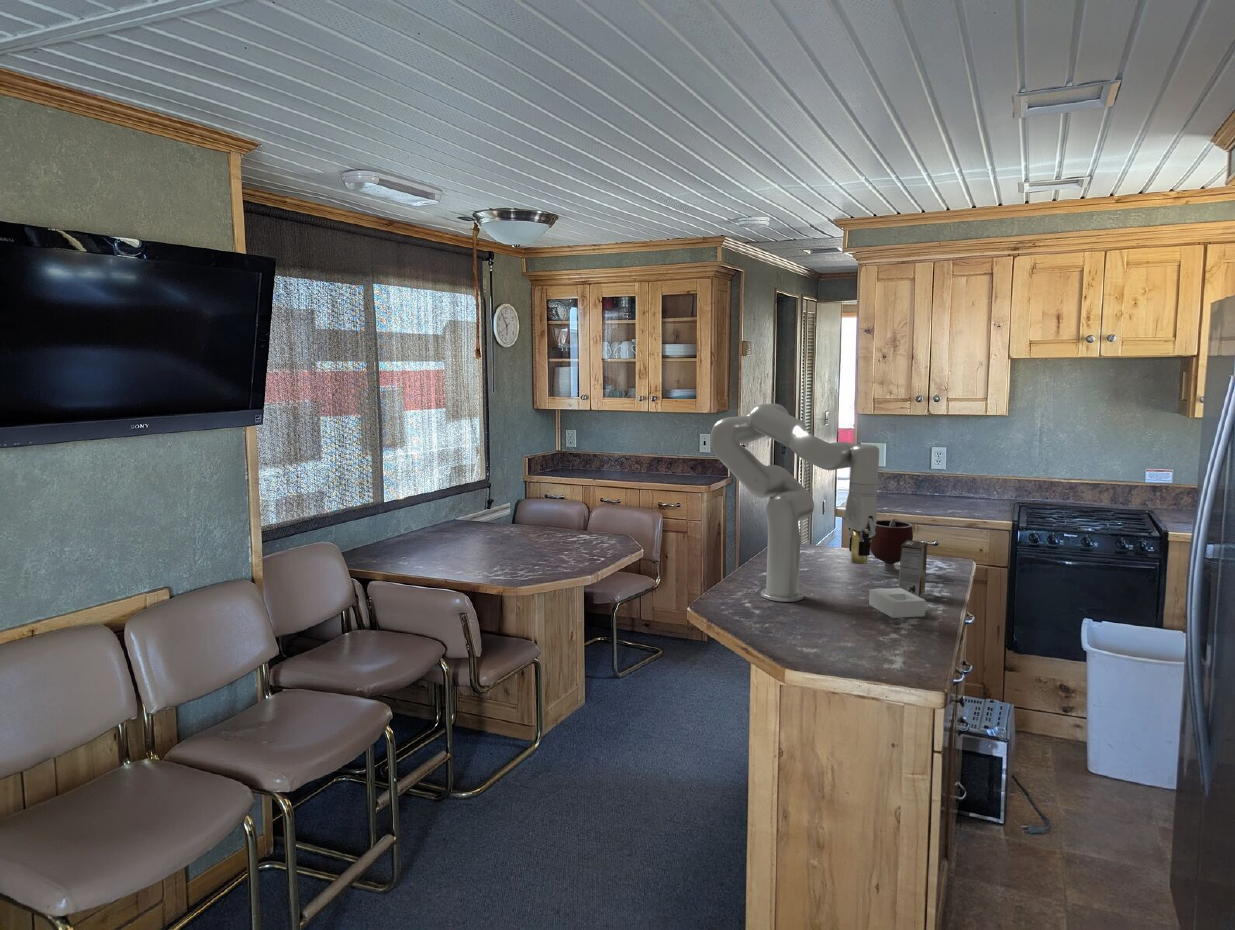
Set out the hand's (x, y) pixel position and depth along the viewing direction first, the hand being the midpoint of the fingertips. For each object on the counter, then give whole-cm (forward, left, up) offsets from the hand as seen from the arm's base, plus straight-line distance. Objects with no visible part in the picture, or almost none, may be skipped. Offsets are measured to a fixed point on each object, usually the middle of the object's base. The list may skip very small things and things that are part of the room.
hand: (859, 552), depth 233 cm
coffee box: (-13, +25, -17) cm, 33 cm away
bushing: (0, 0, -3) cm, 3 cm away
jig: (+1, +12, -17) cm, 21 cm away
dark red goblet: (-38, +32, -17) cm, 53 cm away
